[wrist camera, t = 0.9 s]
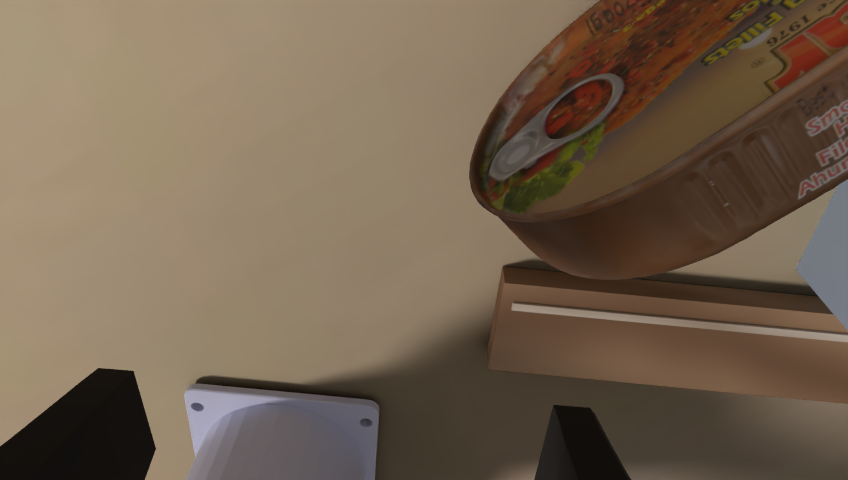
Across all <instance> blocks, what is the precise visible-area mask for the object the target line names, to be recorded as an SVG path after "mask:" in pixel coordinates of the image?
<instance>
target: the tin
mask: <svg viewBox="0 0 848 480" xmlns="http://www.w3.org/2000/svg"><path fill="white" fill-rule="evenodd" d="M469 179H470V184H471V189H472V192H473V194H474V196H475V197H476V199H477V201H478V202H479V204H480V205H482V206H483V207H484V208H485V209H486V210H488V211H489V212H491V213H492V214H494V215H496V216H498V217H499V218H500V219H501V220H502V221H503V222H504V223H505V224H506V225H507V226H508V228H509V229H510V230H511V231H512V232H513V233H514V234H515V235H516V236H517V237H518V238H519V239H520V240H521V241H522V242H523V243H524V244H525V245H526V246H527V247H528V248H529V249H530V250H531V251H532V252H533V253H535V254H536V255H537V256H538V257H539V258H541V259H542V260H544V261H545V262H547V263H548V264H549V265H551V266H553V267H555V268H557V269H559V270H561V271H563V272H566V273H568V274H571V275H575V276H579V277H584V278H590V279H600V280H620V279H632V278H640V277H646V276H651V275H656V274H660V273H664V272H667V271H671V270H675V269H678V268H681V267H684V266H686V265H689V264H692V263H695V262H697V261H700V260H703V259H705V258H708V257H710V256H713V255H715V254H718V253H720V252H722V251H723V250H725V249H727V248H729V247H731V246H733V245H735V244H736V243H738V242H740V241H742V240H744V239H747V238H748V237H750V236H751V235H753V234H754V233H756V232H757V231H759V230H761V229H763V228H765V227H767V226H768V225H770V224H772V223H774V222H775V221H777V220H779V219H781V218H782V217H784V216H786V215H788V214H789V213H791V212H793V211H795V210H796V209H798V208H800V207H802V206H803V205H805V204H807V203H809V202H811V201H812V200H814V199H816V198H818V197H819V196H821V195H822V194H824V193H826V192H828V191H830V190H831V189H833V188H835V187H836V186H838V185H839V184H841V183H842V182H844V181H846V180H848V0H600V1H599V2H597V3H596V4H595V5H594V6H592V7H591V8H590V9H589V10H587V11H586V12H585V13H584V14H583V15H581V16H580V17H579V18H578V19H576V20H575V21H574V22H573V23H572V24H570V25H569V26H568V27H567V28H566V29H564V30H563V31H562V32H561V33H560V34H559V35H558V36H556V37H555V38H554V39H553V40H552V41H551V42H550V43H549V44H548V45H547V46H546V47H544V48H543V49H542V51H541V52H540V53H539V54H538V55H537V56H536V57H535V58H534V59H533V60H532V61H531V62H530V63H529V64H528V65H527V66H526V67H525V69H524V70H523V71H522V72H521V73H520V74H519V75H518V76H517V78H516V79H515V80H514V81H513V82H512V84H511V85H510V86H509V87H508V89H507V90H506V91H505V93H504V94H503V95H502V96H501V98H500V99H499V101H498V102H497V104H496V106H495V107H494V109H493V110H492V112H491V113H490V115H489V117H488V119H487V121H486V123H485V124H484V126H483V128H482V130H481V132H480V134H479V136H478V139H477V142H476V145H475V148H474V151H473V154H472V158H471V162H470V171H469Z"/></svg>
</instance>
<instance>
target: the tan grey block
mask: <svg viewBox="0 0 848 480" xmlns="http://www.w3.org/2000/svg"><path fill="white" fill-rule="evenodd" d="M796 270H797V272H798V273H799V274H800V275H801V276H802V278H803V279H804V280H805V281H806V282H807V283H808V285H809V286H810V287H811V288H812V289H813V291H814V292H815V293H816V294H817V295H818V296H819V298H820V299H821V300H822V301H823V302H824V303H825V305H826V306H827V307H828V308H829V309H830V311H831V312H832V313H833V314H834V315H835V316H836V318H837V319H838V320H839V321H840V322H841V324H842V325H843V326H844V327H845V328H846V329H847V331H848V180H846V181H844V182H842V183H841V184H839V185H838V186H837V188H836V190H835V192H834V194H833V196H832V198H831V200H830V202H829V204H828V206H827V208H826V210H825V212H824V214H823V216H822V218H821V220H820V222H819V224H818V226H817V228H816V230H815V232H814V234H813V236H812V238H811V240H810V242H809V244H808V246H807V248H806V250H805V252H804V254H803V256H802V258H801V260H800V262H799V264H798V266H797V268H796Z"/></svg>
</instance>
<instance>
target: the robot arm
mask: <svg viewBox="0 0 848 480" xmlns="http://www.w3.org/2000/svg"><path fill="white" fill-rule="evenodd" d="M184 398H185V403H186V409H187V414H188V420H189V425H190V431H191V436H192V442H193V447H194V453H195V460H194V462H193V464H192V466H191V469H190V471H189V473H188V475H187V477H186V480H375V471H376V456H377V440H378V424H379V406H378V404H377V403H375V402H374V401H372V400H367V399H357V398H346V397H335V396H325V395H314V394H304V393H293V392H283V391H272V390H261V389H251V388H240V387H230V386H219V385H209V384H191V385H189V387H188V388H187V390H186V391H185V394H184ZM199 403H200V404H199ZM365 419H369V420H365ZM155 450H156V448H155V444H154V441H153V437H152V434H151V430H150V427H149V423H148V420H147V416H146V413H145V409H144V406H143V402H142V399H141V396H140V392H139V389H138V385H137V382H136V378H135V375H134V371H128V370H115V369H103V368H98V369H97V370H95V371H94V372H93V373H92V374H90V375H89V376H88V377H86V378H85V379H84V380H83V381H81V382H80V383H79V384H78V385H76V386H75V387H74V388H73V389H71V390H70V391H69V392H68V393H66V394H65V395H64V396H63V397H61V398H60V399H59V400H58V401H57V402H55V403H54V404H53V405H52V406H50V407H49V408H48V409H47V410H45V411H44V412H43V413H42V414H40V415H39V416H38V417H37V418H35V419H34V420H33V421H32V422H31V423H29V424H28V425H27V426H26V427H24V428H23V429H22V430H21V431H19V432H18V433H17V434H16V435H14V436H13V437H12V438H11V439H9V440H8V441H7V442H5V443H4V444H3V445H2V446H0V480H145V477H146V475H147V472H148V469H149V466H150V463H151V461H152V458H153V455H154V452H155ZM535 480H631V479H630V477H629V476H628V474H627V472H626V470H625V469H624V467H623V465H622V463H621V462H620V460H619V458H618V456H617V454H616V453H615V451H614V449H613V447H612V445H611V444H610V442H609V440H608V438H607V436H606V434H605V432H604V431H603V429H602V427H601V425H600V423H599V421H598V419H597V417H596V415H595V413H594V412H593V411H592V410H591V409H590V408H584V407H572V406H559V405H554V406H553V409H552V413H551V417H550V421H549V425H548V429H547V433H546V437H545V441H544V445H543V449H542V452H541V456H540V460H539V464H538V468H537V472H536V476H535Z"/></svg>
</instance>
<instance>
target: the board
mask: <svg viewBox="0 0 848 480" xmlns="http://www.w3.org/2000/svg"><path fill="white" fill-rule="evenodd" d="M487 361H488V370H498V371H508V372H519V373H530V374H540V375H551V376H561V377H572V378H582V379H593V380H603V381H614V382H624V383H635V384H645V385H656V386H667V387H677V388H688V389H698V390H709V391H719V392H730V393H740V394H751V395H761V396H772V397H782V398H793V399H803V400H814V401H825V402H835V403H846V404H848V331H847V329H846V328H845V327H844V326H843V325H842V324H841V322H840V321H839V320H838V319H837V318H836V316H835V315H834V314H833V313H832V312H831V311H830V309H829V308H828V307H827V306H826V305H825V303H824V302H823V301H822V300H821V299H820V298H819V297H817V296H807V295H796V294H786V293H775V292H765V291H754V290H744V289H734V288H723V287H713V286H702V285H692V284H681V283H671V282H660V281H650V280H640V279H620V280H600V279H590V278H584V277H579V276H575V275H571V274H568V273H566V272H556V271H546V270H535V269H525V268H514V267H504V266H503V267H502V273H501V278H500V284H499V289H498V294H497V300H496V305H495V310H494V316H493V321H492V326H491V332H490V337H489V343H488V348H487Z"/></svg>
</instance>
